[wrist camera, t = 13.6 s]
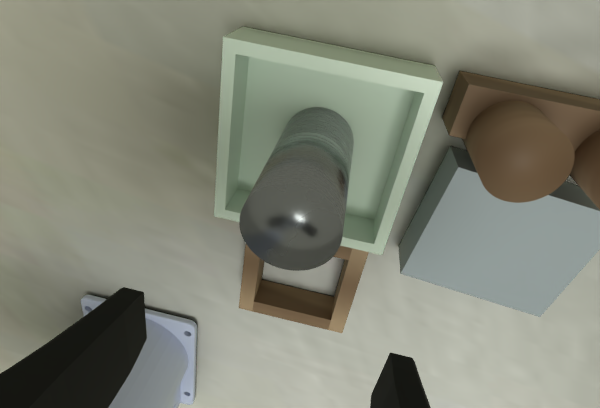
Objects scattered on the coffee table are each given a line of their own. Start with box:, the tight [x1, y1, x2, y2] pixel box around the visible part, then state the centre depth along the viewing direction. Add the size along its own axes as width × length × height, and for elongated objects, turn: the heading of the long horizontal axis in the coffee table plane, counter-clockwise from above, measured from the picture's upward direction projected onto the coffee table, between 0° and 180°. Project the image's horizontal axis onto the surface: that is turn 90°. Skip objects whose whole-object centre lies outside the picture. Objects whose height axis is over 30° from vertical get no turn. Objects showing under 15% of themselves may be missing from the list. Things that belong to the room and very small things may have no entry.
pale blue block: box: [399, 146, 600, 317], centre depth 19 cm, size 6×7×2 cm
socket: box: [239, 244, 369, 333], centre depth 22 cm, size 6×6×2 cm
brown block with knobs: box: [442, 71, 600, 210], centre depth 15 cm, size 3×8×4 cm, turn 81°
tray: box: [214, 27, 443, 255], centre depth 18 cm, size 8×8×2 cm
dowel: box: [240, 107, 354, 270], centre depth 15 cm, size 3×3×7 cm
